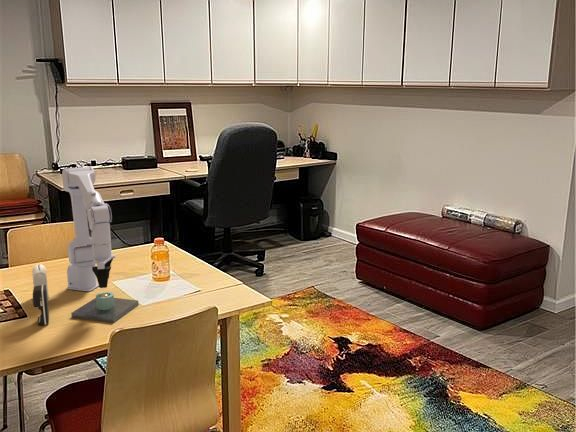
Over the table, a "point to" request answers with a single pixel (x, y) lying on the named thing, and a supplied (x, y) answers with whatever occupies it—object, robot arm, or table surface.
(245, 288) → the table surface
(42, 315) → the battery charger
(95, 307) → the hub plate
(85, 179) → the robot arm
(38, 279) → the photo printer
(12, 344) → the table surface
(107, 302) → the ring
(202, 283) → the table surface
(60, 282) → the table surface
